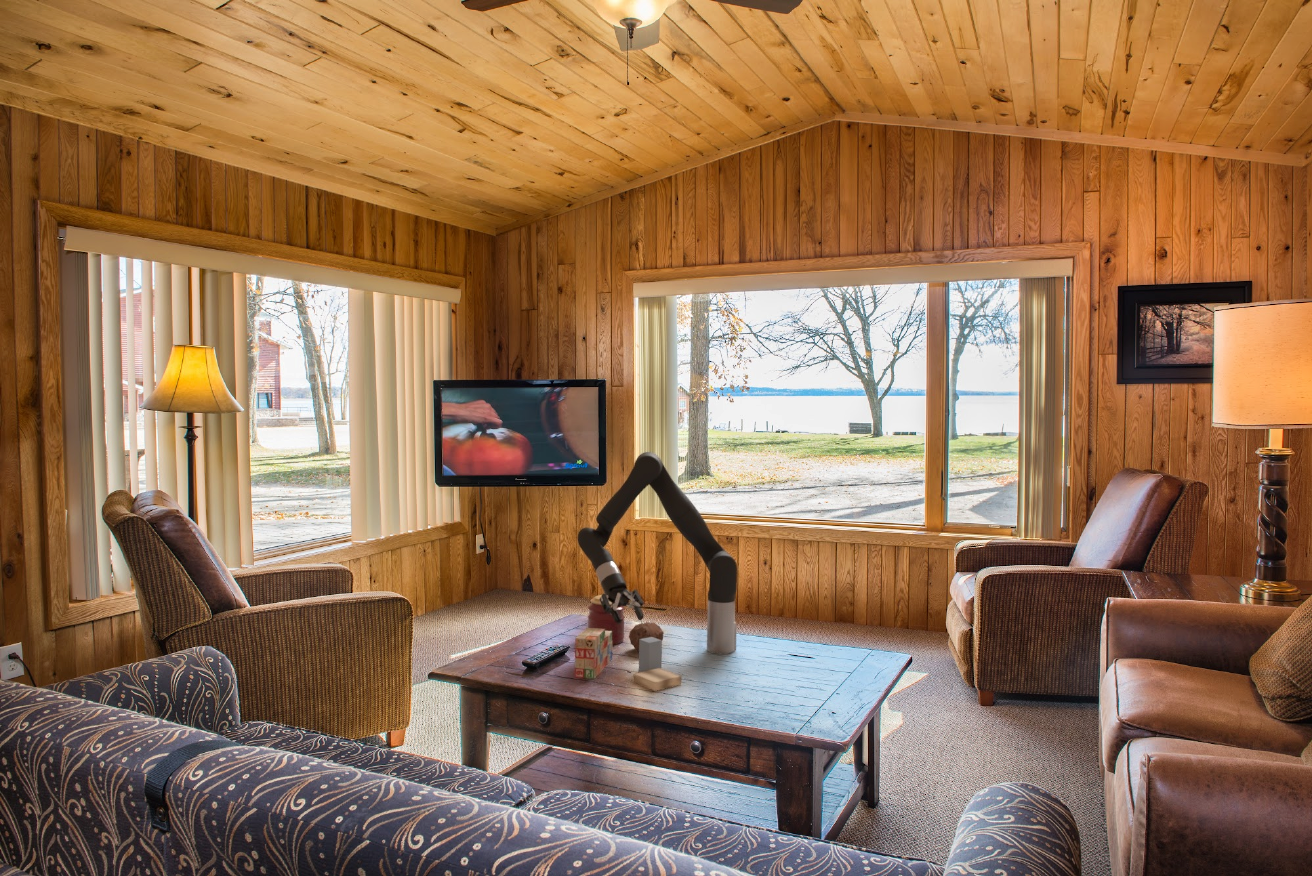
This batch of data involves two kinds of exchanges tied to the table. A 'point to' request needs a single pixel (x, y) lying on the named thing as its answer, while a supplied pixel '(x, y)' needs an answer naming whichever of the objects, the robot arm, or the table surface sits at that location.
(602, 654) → the stack of blocks
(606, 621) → the canister
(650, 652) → the column
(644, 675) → the base slab
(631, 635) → the decorative rock
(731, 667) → the table surface
